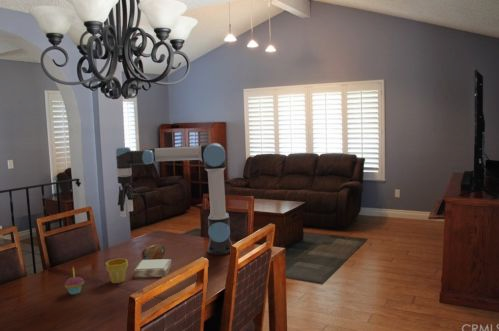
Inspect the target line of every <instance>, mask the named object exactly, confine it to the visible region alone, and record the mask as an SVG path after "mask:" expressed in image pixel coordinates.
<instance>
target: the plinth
mask: <svg viewBox="0 0 499 331" xmlns="http://www.w3.org/2000/svg"><path fill="white" fill-rule="evenodd" d="M171 267H172V259H171V258H170V259H169V258H166V259H165V258H161V259H155V260H141V261H140V262H139V263H138V264H137V265H136V267H135V268H134V270H133V277H134V278H153V277H155V278H156V277H158V278H159V277H167V275H168V273H169V271H170V270H171Z"/></svg>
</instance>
